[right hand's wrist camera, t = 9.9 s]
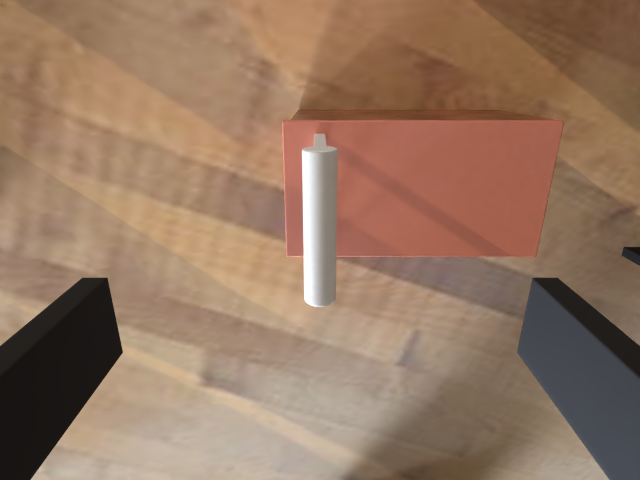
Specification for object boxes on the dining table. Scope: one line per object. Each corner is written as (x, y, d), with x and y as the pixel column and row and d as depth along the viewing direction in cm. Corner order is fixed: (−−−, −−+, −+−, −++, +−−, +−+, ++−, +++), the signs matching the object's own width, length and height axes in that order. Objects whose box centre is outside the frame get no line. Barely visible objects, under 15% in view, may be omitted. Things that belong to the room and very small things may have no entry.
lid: (287, 251, 30) (274, 317, 22) (283, 120, 26) (266, 137, 18) (530, 252, 30) (610, 317, 22) (556, 119, 26) (663, 137, 18)
